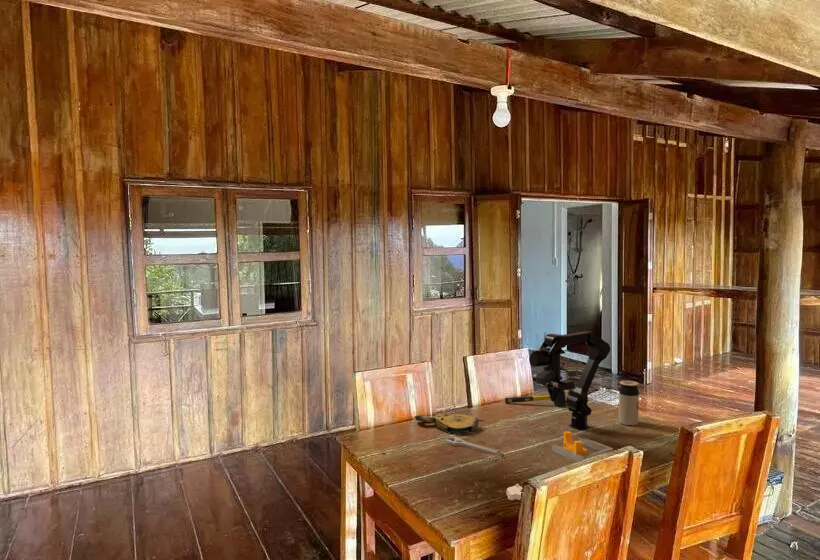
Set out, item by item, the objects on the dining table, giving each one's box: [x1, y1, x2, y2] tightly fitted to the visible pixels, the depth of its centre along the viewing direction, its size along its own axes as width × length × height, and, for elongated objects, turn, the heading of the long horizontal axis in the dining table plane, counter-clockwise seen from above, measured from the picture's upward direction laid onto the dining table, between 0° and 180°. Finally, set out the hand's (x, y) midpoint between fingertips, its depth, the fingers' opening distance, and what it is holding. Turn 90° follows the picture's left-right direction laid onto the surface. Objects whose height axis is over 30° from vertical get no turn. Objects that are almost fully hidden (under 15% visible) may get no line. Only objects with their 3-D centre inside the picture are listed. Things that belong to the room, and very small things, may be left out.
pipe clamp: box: [562, 430, 588, 456], centre depth 204 cm, size 12×4×6 cm, turn 6°
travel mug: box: [618, 380, 640, 426], centre depth 238 cm, size 8×8×18 cm
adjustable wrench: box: [445, 436, 504, 457], centre depth 210 cm, size 25×6×2 cm, turn 47°
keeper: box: [551, 436, 614, 462], centre depth 205 cm, size 16×15×2 cm
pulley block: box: [414, 413, 485, 435], centre depth 235 cm, size 14×6×30 cm
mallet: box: [504, 389, 567, 408], centre depth 266 cm, size 29×6×10 cm, turn 80°
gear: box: [505, 483, 523, 501], centre depth 172 cm, size 9×9×2 cm
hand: (553, 401), depth 227 cm, fingers closed
